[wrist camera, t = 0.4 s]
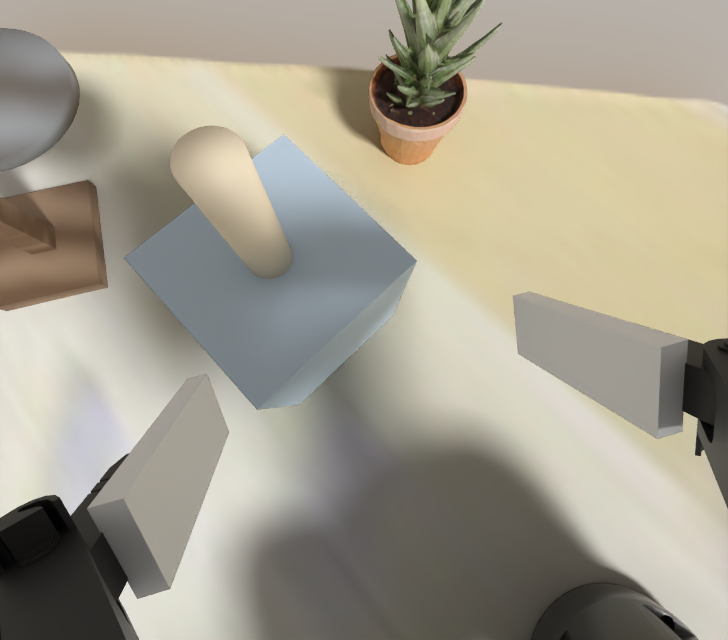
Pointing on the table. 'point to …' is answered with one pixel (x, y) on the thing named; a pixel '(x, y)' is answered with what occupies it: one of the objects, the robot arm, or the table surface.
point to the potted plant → (423, 78)
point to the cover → (270, 265)
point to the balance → (49, 206)
